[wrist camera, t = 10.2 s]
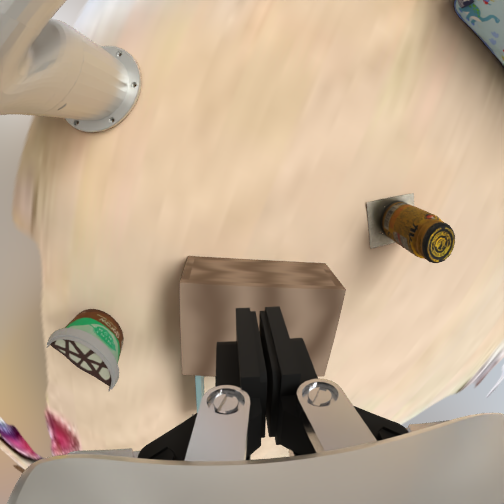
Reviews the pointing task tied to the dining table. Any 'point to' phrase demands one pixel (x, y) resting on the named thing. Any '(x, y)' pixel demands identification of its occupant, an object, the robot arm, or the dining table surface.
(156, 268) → the dining table surface
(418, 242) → the condiment
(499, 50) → the lunch box
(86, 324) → the food container
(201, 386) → the door
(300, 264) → the bread box
